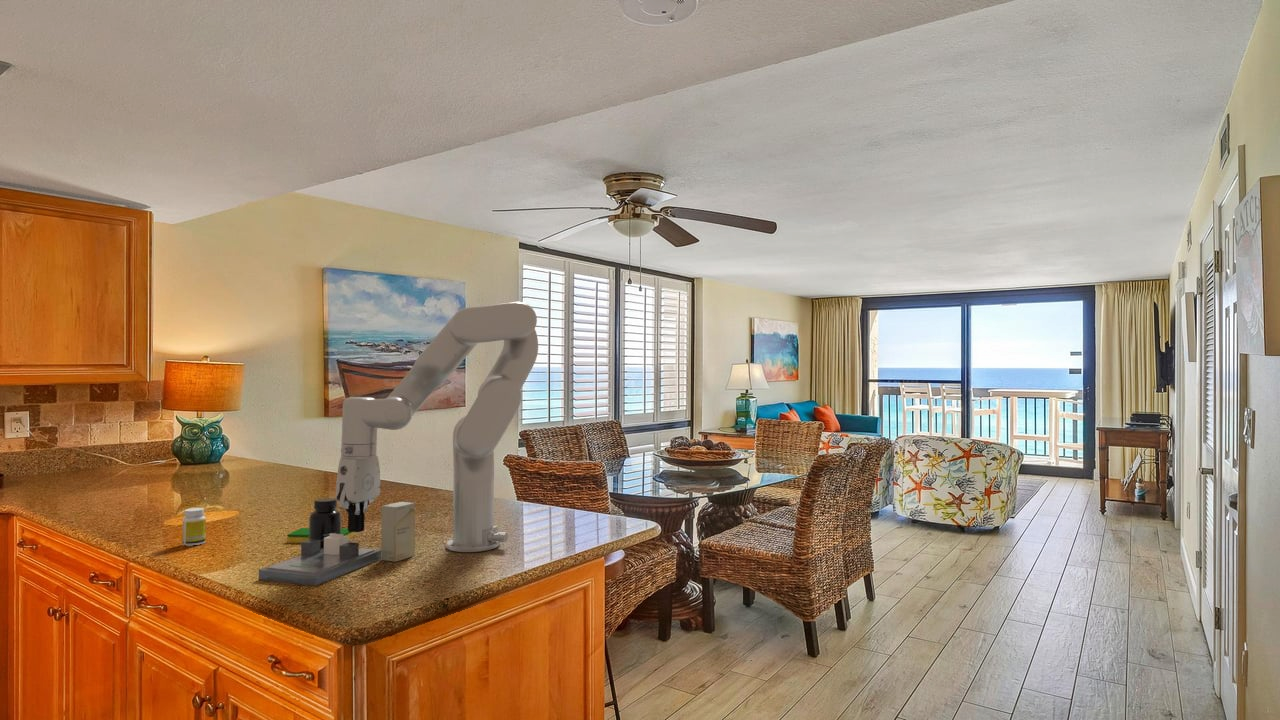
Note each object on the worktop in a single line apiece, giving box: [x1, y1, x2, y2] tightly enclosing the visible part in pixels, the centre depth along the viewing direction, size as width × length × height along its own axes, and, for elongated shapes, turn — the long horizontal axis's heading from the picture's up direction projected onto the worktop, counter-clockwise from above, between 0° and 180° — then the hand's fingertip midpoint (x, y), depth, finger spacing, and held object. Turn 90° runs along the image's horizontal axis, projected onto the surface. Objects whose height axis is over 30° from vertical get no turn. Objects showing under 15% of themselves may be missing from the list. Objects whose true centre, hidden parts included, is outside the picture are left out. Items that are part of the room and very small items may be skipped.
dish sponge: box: [286, 527, 355, 544], centre depth 174 cm, size 7×14×2 cm, turn 89°
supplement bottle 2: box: [308, 497, 342, 549], centre depth 163 cm, size 7×7×12 cm
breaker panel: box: [258, 539, 381, 587], centre depth 148 cm, size 14×20×5 cm
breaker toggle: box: [324, 533, 350, 555], centre depth 152 cm, size 4×3×4 cm
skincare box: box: [380, 501, 416, 563], centre depth 157 cm, size 6×4×12 cm
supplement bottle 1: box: [182, 507, 207, 547], centre depth 169 cm, size 5×5×8 cm
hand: (355, 530), depth 159 cm, fingers closed
